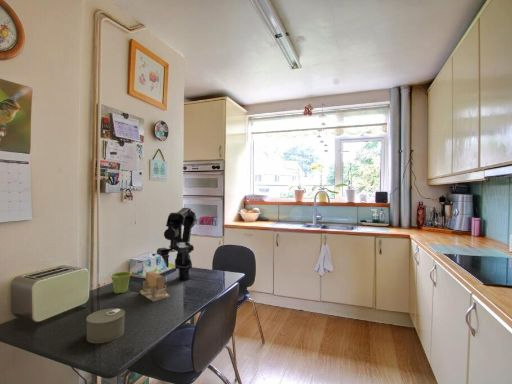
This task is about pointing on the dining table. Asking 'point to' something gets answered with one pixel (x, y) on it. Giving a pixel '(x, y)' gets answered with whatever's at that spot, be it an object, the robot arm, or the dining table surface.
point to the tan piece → (153, 292)
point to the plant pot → (120, 281)
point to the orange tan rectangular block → (155, 280)
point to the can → (105, 325)
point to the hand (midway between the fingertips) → (175, 265)
